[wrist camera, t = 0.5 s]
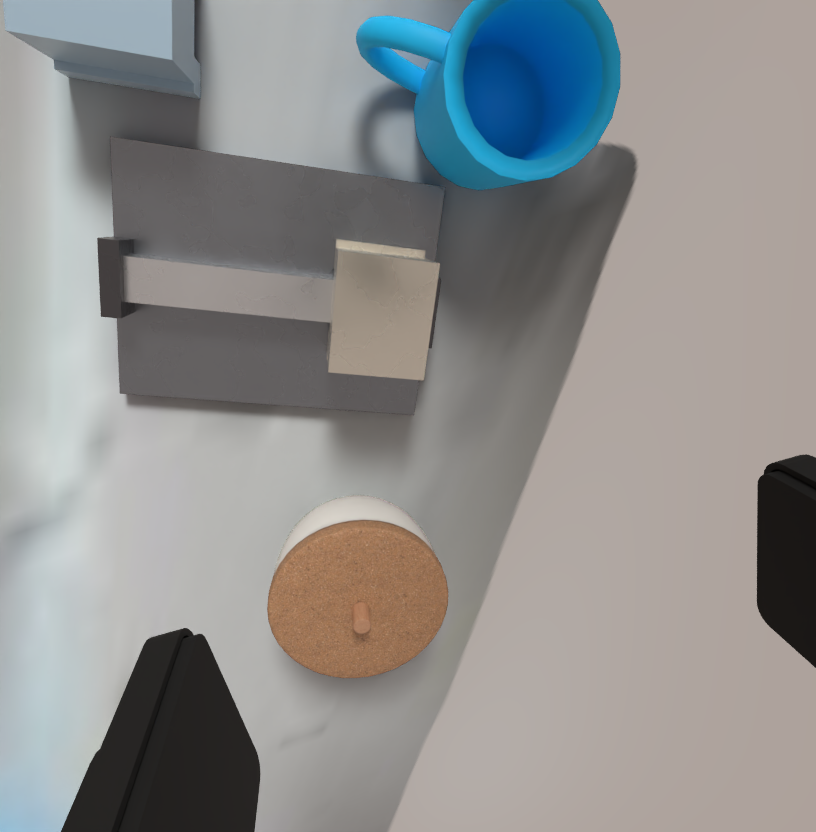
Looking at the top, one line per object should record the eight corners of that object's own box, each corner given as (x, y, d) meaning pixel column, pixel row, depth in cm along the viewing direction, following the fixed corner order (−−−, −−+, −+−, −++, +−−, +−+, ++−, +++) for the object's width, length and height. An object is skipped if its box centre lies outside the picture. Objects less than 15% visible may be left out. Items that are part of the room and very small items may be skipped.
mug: (572, 68, 32) (651, 20, 24) (518, 210, 34) (575, 206, 26) (376, -28, 29) (395, -117, 21) (330, 134, 31) (333, 105, 24)
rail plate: (116, 139, 30) (56, 115, 23) (441, 188, 33) (472, 179, 26) (125, 388, 34) (77, 429, 27) (411, 410, 37) (431, 451, 31)
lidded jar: (430, 588, 42) (459, 683, 34) (289, 610, 41) (280, 715, 32) (421, 460, 39) (450, 530, 30) (265, 481, 37) (248, 560, 29)
